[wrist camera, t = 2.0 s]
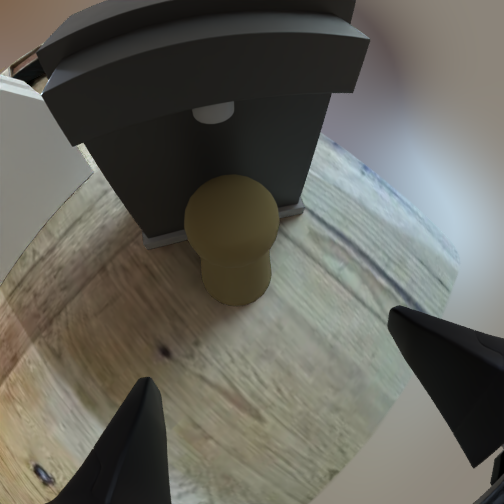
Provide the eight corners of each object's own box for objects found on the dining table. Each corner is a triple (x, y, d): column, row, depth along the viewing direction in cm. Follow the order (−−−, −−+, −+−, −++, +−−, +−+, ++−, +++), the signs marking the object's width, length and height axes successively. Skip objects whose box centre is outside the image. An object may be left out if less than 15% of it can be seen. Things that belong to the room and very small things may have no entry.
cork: (285, 268, 24) (315, 200, 14) (239, 321, 22) (234, 289, 12) (233, 226, 25) (228, 141, 15) (187, 274, 23) (146, 210, 13)
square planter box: (57, 61, 46) (44, 37, 37) (61, 67, 39) (45, 38, 30) (19, 92, 44) (4, 70, 35) (14, 106, 36) (-4, 79, 27)
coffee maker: (311, 236, 25) (405, 27, 6) (151, 275, 23) (-2, 95, 5) (280, 159, 28) (307, -24, 10) (142, 189, 26) (65, 17, 8)
